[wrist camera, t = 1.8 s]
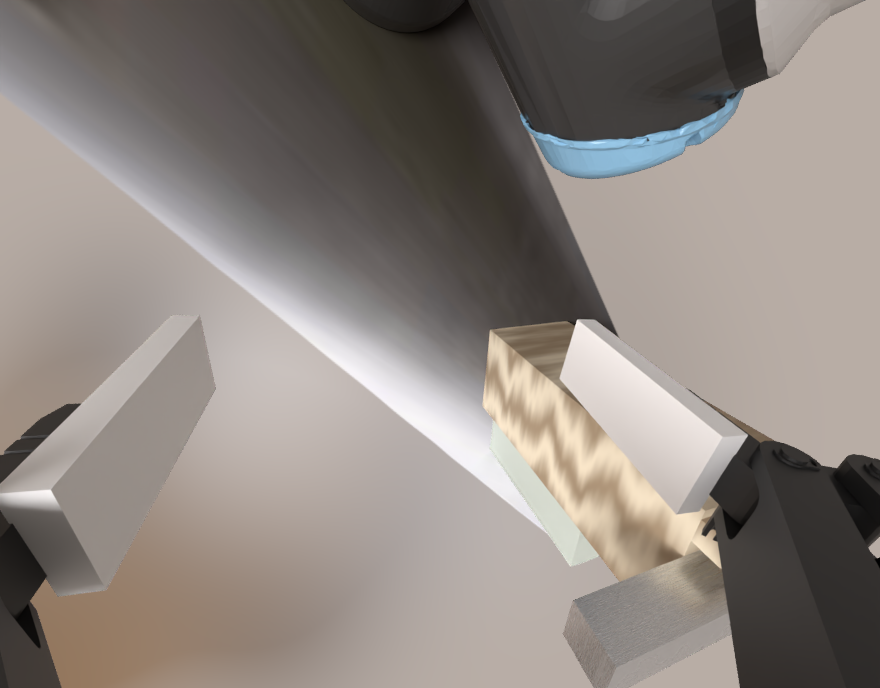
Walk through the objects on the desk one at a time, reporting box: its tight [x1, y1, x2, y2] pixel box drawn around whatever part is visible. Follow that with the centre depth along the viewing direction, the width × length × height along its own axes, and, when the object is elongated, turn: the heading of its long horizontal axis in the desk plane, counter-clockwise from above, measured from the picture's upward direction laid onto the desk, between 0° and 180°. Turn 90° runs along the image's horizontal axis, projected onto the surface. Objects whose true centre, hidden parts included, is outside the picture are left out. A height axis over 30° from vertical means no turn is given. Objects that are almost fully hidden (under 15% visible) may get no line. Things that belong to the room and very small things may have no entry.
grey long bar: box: [563, 550, 732, 688], centre depth 25 cm, size 6×22×4 cm, turn 88°
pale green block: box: [490, 420, 600, 567], centre depth 50 cm, size 7×14×20 cm, turn 88°
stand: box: [483, 321, 774, 582], centre depth 39 cm, size 12×12×32 cm
